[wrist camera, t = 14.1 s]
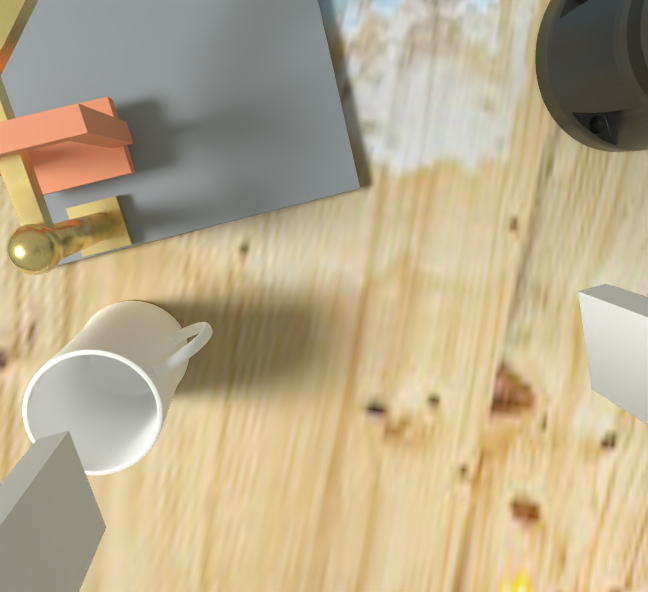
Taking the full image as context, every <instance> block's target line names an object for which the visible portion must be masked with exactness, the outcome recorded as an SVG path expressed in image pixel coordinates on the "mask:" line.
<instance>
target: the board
mask: <svg viewBox="0 0 648 592" xmlns="http://www.w3.org/2000/svg"><path fill="white" fill-rule="evenodd" d="M1 78H2V81H3V84H4V87H5V90H6V92H7V95H8V98H9V101H10V104H11V106H12V109H13V112H14V115H15V118H18V117H22V116H27V115H31V114H35V113H39V112H43V111H48V110H52V109H56V108H60V107H64V106H69V105H73V104H77V103H83V102H87V101H91V100H95V99H99V98H104V97H109V98H111V99H113V102H114V105H115V108H116V112H117V115H118V118H119V119H120V120H123V121H125V122H127V125H128V128H129V131H130V134H131V137H132V141H133V143H132V144H128V145H127V146H128V150H129V153H130V156H131V159H132V162H133V165H134V169H135V172H136V173H132V174H128V175H124V176H120V177H116V178H112V179H108V180H104V181H100V182H96V183H92V184H88V185H84V186H80V187H76V188H71V189H67V190H63V191H59V192H55V193H51V194H47V195H43V196H44V199H45V201H46V204H47V207H48V210H49V213H50V215H51V218H52V221H53V224H55V223H59V222H63V221H66V220H70V219H69V217H68V214H67V211H66V208H70V207H74V206H78V205H82V204H86V203H90V202H94V201H98V200H102V199H106V198H110V197H114V196H119V197H120V200H121V203H122V207H123V210H124V213H125V216H126V219H127V222H128V225H129V228H130V231H131V234H132V237H133V240H134V244H132V245H128V246H124V247H120V248H116V249H113V250H109V251H105V252H101V253H97V254H93V255H89V256H85V257H82V254H81V251H79V252H77V253H75V254H73V255H70V256H68V257H66V258H64V259H61V261H60V262H59V264H58V265H61V264H65V263H69V262H73V261H77V260H81V259H85V258H88V257H92V256H96V255H100V254H104V253H108V252H112V251H116V250H120V249H124V248H128V247H132V246H136V245H139V244H143V243H147V242H151V241H155V240H159V239H163V238H167V237H171V236H175V235H179V234H183V233H186V232H190V231H194V230H198V229H202V228H206V227H210V226H214V225H218V224H222V223H226V222H230V221H234V220H237V219H241V218H245V217H249V216H253V215H257V214H261V213H265V212H269V211H273V210H277V209H281V208H285V207H288V206H292V205H296V204H300V203H304V202H308V201H312V200H316V199H320V198H324V197H328V196H332V195H336V194H339V193H343V192H347V191H351V190H355V189H359V188H360V185H359V181H358V176H357V172H356V168H355V163H354V159H353V154H352V150H351V145H350V141H349V136H348V132H347V127H346V123H345V118H344V114H343V109H342V105H341V101H340V96H339V92H338V87H337V83H336V78H335V74H334V69H333V65H332V60H331V56H330V51H329V47H328V42H327V38H326V34H325V29H324V25H323V20H322V16H321V11H320V7H319V2H318V0H38V2H37V4H36V6H35V8H34V10H33V12H32V14H31V16H30V18H29V20H28V22H27V24H26V26H25V28H24V30H23V32H22V34H21V36H20V38H19V40H18V42H17V44H16V46H15V48H14V50H13V52H12V54H11V56H10V58H9V60H8V62H7V64H6V66H5V68H4V70H3V72H2V75H1Z"/></svg>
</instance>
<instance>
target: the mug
mask: <svg viewBox="0 0 648 592" xmlns="http://www.w3.org/2000/svg"><path fill="white" fill-rule="evenodd" d="M212 333H213V330H212V327H211V326H210V324H208V323H207V322H198V323H195V324H192V325H189V326H187V327H184V328H182V327H181V326H180V324H179V323H178V322H177V321H176V319H175V318H174V317H173V316H171V315H170V314H169V313H168V312H166V311H165V310H163V309H162V308H160V307H158V306H156V305H153V304H150V303H146V302H141V301H123V302H118V303H114V304H112V305H109V306H107V307H105V308H103V309H102V310H100V311H99V312H97V313H96V314H95V315H94V316H93V317H92V318H91V319H90V320H89V321H88V322H87V324H86V325H85V327H84V329H83V330H82V331H81V332H80V333H79V334H78V335H77V336H76V337H75V338H73V339H72V340H71V341H70V342H69V343H68V344H67V345H66V346H65V347H64V348H63V349H61V350H60V351H59V352H58V353H57V354H56V355H55V356H54V357H53V358H52V359H51V360H49V361H48V362H47V363H46V364H45V365H44V366H43V367H42V368H41V369H40V370H39V371H38V372H37V373H36V374H35V376H34V377H33V379H32V380H31V382H30V384H29V386H28V388H27V390H26V393H25V396H24V401H23V420H24V425H25V428H26V431H27V433H28V436H29V438H30V439H31V441H32V443H33V444H34V442H35V441H36V440H37V439H39V438H43V437H47V436H50V435H54V434H58V433H61V432H65V431H69V432H70V435H71V437H72V440H73V443H74V445H75V448H76V450H77V453H78V456H79V458H80V461H81V463H82V466H83V469H84V471H85V474H86V475H104V474H110V473H115V472H118V471H121V470H124V469H126V468H128V467H130V466H132V465H133V464H135V463H137V462H138V461H139V460H141V459H142V458H143V457H144V456H145V455H146V454H147V453H148V452H149V451H150V449H151V448H152V447H153V445H154V444H155V442H156V440H157V438H158V436H159V434H160V431H161V429H162V426H163V423H164V420H165V418H166V415H167V412H168V409H169V407H170V404H171V401H172V399H173V396H174V393H175V390H176V388H177V385H178V384H179V383H180V381H181V380H182V378H183V376H184V374H185V372H186V370H187V366H188V362H189V358H190V357H192V356H193V355H194V354H195V353H196V352H198V351H199V350H200V349H201V348H202V347H203V346H204V345H205V344H206V343H207V342H208V341H209V339H210V338H211V336H212ZM196 334H198V335H197V336H196V337H195V338H194V339H193V340H192V341H190V342H189V343H188V341H187V338H189V337H191V336H194V335H196Z"/></svg>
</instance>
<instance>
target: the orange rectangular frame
mask: <svg viewBox="0 0 648 592" xmlns="http://www.w3.org/2000/svg"><path fill="white" fill-rule="evenodd" d="M132 143H133V141H132V137H131V134H130V131H129V128H128V125H127V122H125V121H123V120H120V119H119V118H118V115H117V112H116V108H115V105H114V102H113V99H111V98H109V97H104V98H99V99H95V100H91V101H87V102H83V103H77V104H73V105H69V106H64V107H60V108H56V109H52V110H48V111H43V112H39V113H35V114H31V115H27V116H22V117H18V118H14V119H10V120H6V121H1V122H0V158H1V157H5V156H9V155H13V154H17V153H21V152H26V151H28V154H29V157H30V160H31V162H32V165H33V168H34V171H35V174H36V176H37V179H38V182H39V185H40V188H41V190H42V193H43V195H47V194H51V193H55V192H59V191H63V190H67V189H71V188H76V187H80V186H84V185H88V184H92V183H96V182H100V181H104V180H108V179H112V178H116V177H120V176H124V175H128V174H132V173H136V172H135V169H134V165H133V162H132V159H131V156H130V153H129V150H128V146H127V145H128V144H132ZM0 176H1V172H0Z"/></svg>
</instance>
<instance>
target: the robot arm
mask: <svg viewBox="0 0 648 592" xmlns="http://www.w3.org/2000/svg"><path fill="white" fill-rule="evenodd" d="M536 74H537V80H538V85H539V89H540V92H541V95H542V98H543V100H544V103H545V105H546V107H547V109H548V111H549V112H550V114H551V116H552V117H553V118H554V120H555V121H556V122H557V124H558V125H559V126H560V127H561V128H562V129H563V130H564V131H565V132H566V133H567V134H569V135H570V136H571V137H572V138H574V139H575V140H577V141H579V142H580V143H582V144H584V145H586V146H589V147H591V148H595V149H598V150H603V151H610V152H624V151H640V150H646V149H648V0H551V1H550V3H549V5H548V7H547V9H546V12H545V14H544V17H543V19H542V22H541V26H540V29H539V33H538V38H537V45H536ZM578 293H579V300H580V308H581V315H582V322H583V329H584V337H585V344H586V351H587V358H588V365H589V373H590V380H591V387H592V390H594V391H596V392H597V393H599V394H600V395H602V396H603V397H605V398H606V399H608V400H609V401H611V402H613V403H614V404H616V405H617V406H619V407H620V408H622V409H623V410H625V411H626V412H628V413H630V414H631V415H633V416H634V417H636V418H637V419H639V420H640V421H642V422H643V423H645V424H647V425H648V297H646V296H643V295H640V294H636V293H633V292H630V291H627V290H624V289H621V288H618V287H615V286H611V285H608V284H604V285H600V286H597V287H593V288H589V289H586V290H582V291H578ZM105 528H106V526H105V523H104V520H103V518H102V515H101V513H100V510H99V508H98V505H97V502H96V500H95V497H94V495H93V492H92V489H91V487H90V484H89V482H88V479H87V476H86V474H85V471H84V469H83V466H82V463H81V461H80V458H79V456H78V453H77V450H76V448H75V445H74V443H73V440H72V437H71V435H70V432H69V431H65V432H61V433H58V434H54V435H50V436H47V437H43V438H39V439H37V440H36V441H35V442H34V444H33V445H32V446H31V447H30V449H29V450H28V451H27V452H26V454H25V455H24V456H23V457H22V458H21V460H20V461H19V462H18V463H17V465H16V466H15V467H14V468H13V469H12V471H11V472H10V473H9V474H8V476H7V477H6V478H5V479H4V480H3V482H2V483H1V484H0V592H79V590H80V588H81V585H82V583H83V581H84V578H85V576H86V574H87V571H88V569H89V566H90V564H91V562H92V559H93V557H94V555H95V552H96V550H97V547H98V545H99V543H100V540H101V538H102V536H103V533H104V531H105Z"/></svg>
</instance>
